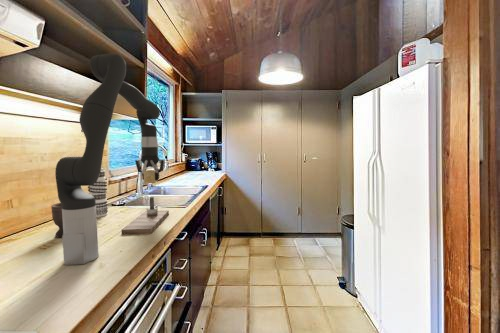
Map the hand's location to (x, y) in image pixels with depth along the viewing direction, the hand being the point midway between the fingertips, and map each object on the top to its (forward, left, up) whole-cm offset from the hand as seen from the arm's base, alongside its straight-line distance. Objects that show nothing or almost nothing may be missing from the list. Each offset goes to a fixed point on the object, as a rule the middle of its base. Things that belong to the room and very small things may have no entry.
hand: (151, 180), depth 134 cm
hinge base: (-7, 0, -19) cm, 21 cm away
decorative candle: (+11, +31, -20) cm, 38 cm away
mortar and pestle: (-22, +27, -20) cm, 40 cm away
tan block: (-3, 0, -1) cm, 3 cm away
